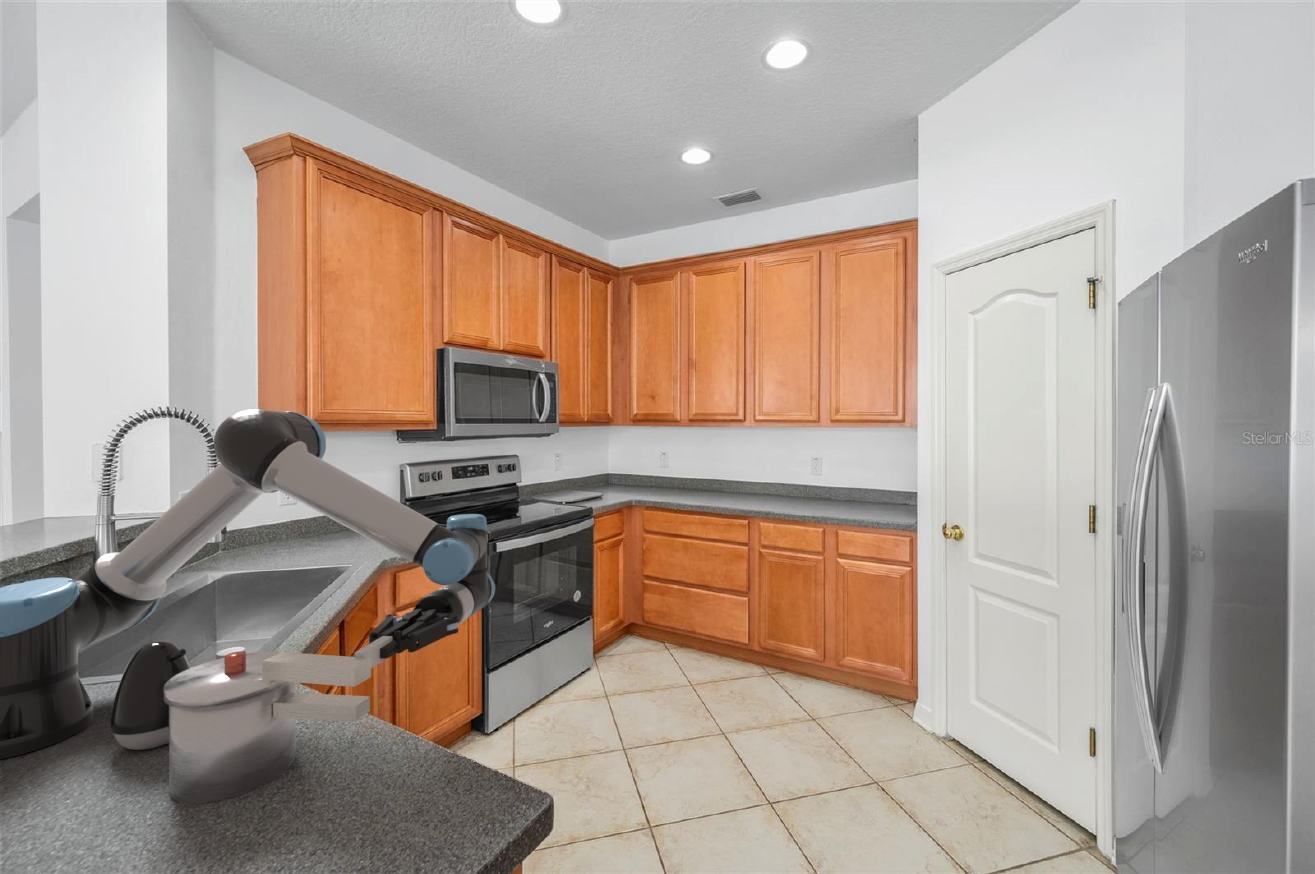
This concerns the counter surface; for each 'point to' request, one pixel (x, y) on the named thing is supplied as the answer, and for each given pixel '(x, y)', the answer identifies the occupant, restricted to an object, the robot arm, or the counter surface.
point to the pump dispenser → (146, 696)
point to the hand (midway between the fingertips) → (360, 662)
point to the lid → (259, 676)
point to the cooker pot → (244, 741)
